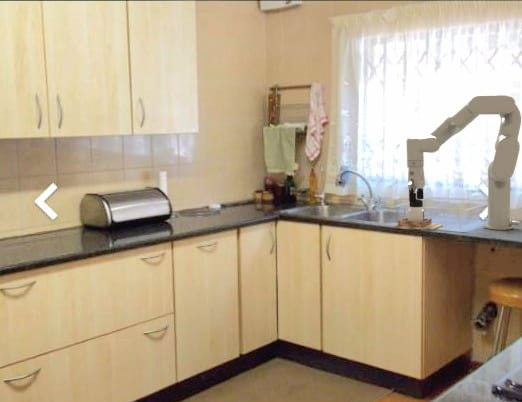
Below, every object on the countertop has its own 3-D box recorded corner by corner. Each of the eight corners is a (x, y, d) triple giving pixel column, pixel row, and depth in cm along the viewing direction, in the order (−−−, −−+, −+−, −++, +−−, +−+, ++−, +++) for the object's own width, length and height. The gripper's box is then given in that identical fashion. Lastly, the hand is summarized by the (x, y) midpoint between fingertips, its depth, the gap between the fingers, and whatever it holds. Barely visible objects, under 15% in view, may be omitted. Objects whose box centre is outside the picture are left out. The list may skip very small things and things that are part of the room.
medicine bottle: (423, 226, 300) (423, 200, 299) (407, 225, 302) (407, 200, 301) (424, 223, 307) (424, 198, 306) (408, 223, 309) (408, 198, 308)
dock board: (442, 226, 305) (442, 218, 304) (432, 230, 293) (432, 223, 293) (406, 223, 315) (406, 216, 314) (395, 228, 303) (395, 220, 303)
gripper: (416, 165, 292) (417, 202, 294) (429, 162, 307) (430, 198, 309) (400, 165, 296) (402, 202, 298) (414, 162, 311) (415, 198, 313)
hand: (416, 200), depth 303 cm, fingers open, 9 cm apart
